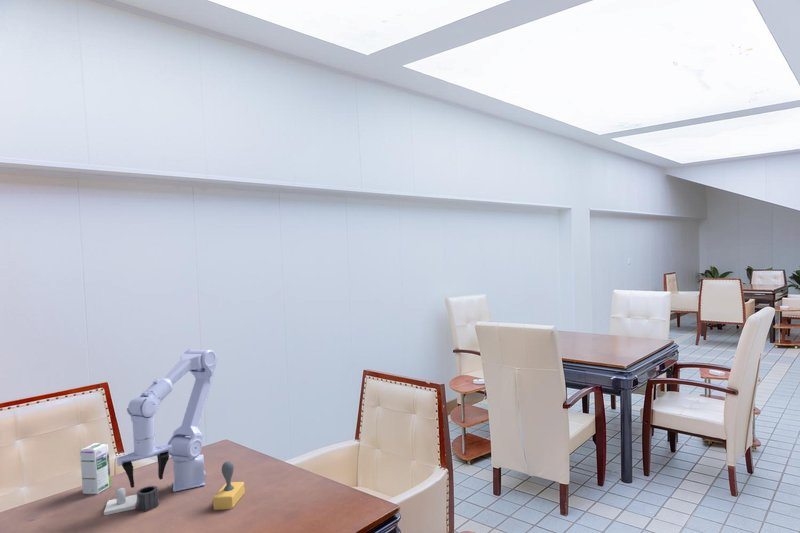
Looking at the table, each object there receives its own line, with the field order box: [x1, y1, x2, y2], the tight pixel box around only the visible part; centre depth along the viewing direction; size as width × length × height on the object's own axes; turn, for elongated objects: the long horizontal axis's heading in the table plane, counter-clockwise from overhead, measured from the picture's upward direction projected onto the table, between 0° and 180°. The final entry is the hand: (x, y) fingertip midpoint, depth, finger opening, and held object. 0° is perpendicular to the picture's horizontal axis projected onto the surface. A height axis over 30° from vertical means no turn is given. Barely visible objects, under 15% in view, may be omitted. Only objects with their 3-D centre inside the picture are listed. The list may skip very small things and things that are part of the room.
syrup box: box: [79, 442, 112, 495], centre depth 159 cm, size 6×6×14 cm
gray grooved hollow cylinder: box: [136, 485, 159, 512], centre depth 146 cm, size 5×5×5 cm
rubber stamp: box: [212, 460, 246, 511], centre depth 147 cm, size 10×6×12 cm, turn 177°
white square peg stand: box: [103, 487, 137, 516], centre depth 147 cm, size 8×8×5 cm
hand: (146, 482), depth 146 cm, fingers open, 7 cm apart
